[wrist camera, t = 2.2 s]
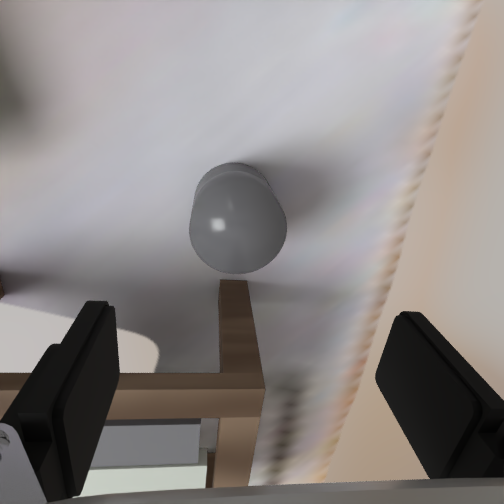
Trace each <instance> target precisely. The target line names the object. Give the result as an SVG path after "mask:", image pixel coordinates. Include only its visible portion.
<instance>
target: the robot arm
mask: <svg viewBox="0 0 504 504" xmlns="http://www.w3.org/2000/svg"><path fill="white" fill-rule="evenodd" d="M119 375H120V369H119V356H118V343H117V330H116V317H115V308H114V306H109V304H108V302H107V301H87V302H86V303H85V305H84V306H83V308H82V309H81V311H80V313H79V314H78V316H77V318H76V319H75V321H74V323H73V324H72V326H71V327H70V329H69V331H68V332H67V334H66V335H65V337H64V339H63V340H62V342H61V344H52V345H50V346H49V347H48V349H47V350H46V351H45V353H44V355H43V356H42V358H41V359H40V361H39V362H38V364H37V365H36V367H35V368H34V370H33V371H32V373H31V374H30V376H29V377H28V379H27V380H26V382H25V384H24V385H23V387H22V388H21V390H20V391H19V393H18V394H17V396H16V397H15V399H14V400H13V402H12V403H11V405H10V406H9V408H8V409H7V411H6V412H5V414H4V416H3V417H2V419H1V420H0V504H504V400H503V399H501V397H500V396H499V395H498V394H497V393H496V392H495V391H494V390H493V389H492V388H491V387H490V386H489V384H488V383H487V382H486V381H485V380H484V379H483V378H482V377H481V376H480V375H479V374H478V373H477V372H476V371H475V370H474V368H473V367H471V365H470V364H469V363H468V362H467V361H466V360H465V359H464V358H463V357H462V356H461V355H460V354H459V352H458V351H456V349H455V348H454V347H453V346H452V345H451V344H450V343H449V342H448V341H447V340H446V339H445V338H444V337H443V335H442V334H441V333H440V332H439V331H438V330H437V329H436V328H435V327H434V326H433V325H432V324H431V323H430V322H429V321H428V319H427V318H426V317H425V316H424V315H423V314H422V313H420V312H411V311H410V312H409V311H403V312H401V313H400V314H399V315H398V316H396V317H395V319H394V322H393V324H392V327H391V330H390V334H389V336H388V339H387V342H386V345H385V348H384V350H383V353H382V356H381V359H380V362H379V365H378V368H377V371H376V375H375V379H376V383H377V385H378V387H379V389H380V391H381V392H382V394H383V396H384V398H385V400H386V401H387V403H388V405H389V407H390V408H391V410H392V412H393V414H394V416H395V417H396V419H397V421H398V423H399V425H400V427H401V428H402V430H403V432H404V434H405V435H406V437H407V439H408V441H409V443H410V444H411V446H412V448H413V450H414V451H415V453H416V455H417V457H418V459H419V460H420V463H421V464H422V466H423V468H424V469H425V471H426V473H427V475H428V477H429V478H430V479H422V480H421V479H420V480H392V481H391V480H390V481H365V482H364V481H363V482H336V483H311V484H286V485H263V486H241V487H219V488H197V489H175V490H160V491H144V492H128V493H113V494H102V495H94V496H85V497H78V496H80V494H81V492H82V490H83V487H84V484H85V481H86V478H87V475H88V472H89V469H90V466H91V463H92V460H93V457H94V454H95V451H96V448H97V445H98V442H99V439H100V436H101V433H102V430H103V427H104V424H105V421H106V418H107V415H108V412H109V409H110V406H111V403H112V400H113V397H114V394H115V391H116V388H117V385H118V382H119ZM73 497H76V498H73Z"/></svg>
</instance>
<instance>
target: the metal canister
mask: <svg viewBox="0 0 504 504" xmlns="http://www.w3.org/2000/svg"><path fill="white" fill-rule="evenodd" d="M286 232H287V223H286V217H285V214H284V212H283V210H282V208H281V206H280V204H279V202H278V200H277V198H276V196H275V195H274V193H273V191H272V189H271V187H270V186H269V184H268V182H267V180H266V179H265V177H264V176H263V175H262V174H261V173H260V172H258V171H257V170H256V169H254V168H253V167H250V166H248V165H245V164H241V163H226V164H222V165H219V166H217V167H215V168H213V169H211V170H210V171H209V172H207V173H206V174H205V175H204V176H203V178H202V179H201V180H200V182H199V184H198V186H197V188H196V191H195V196H194V202H193V208H192V213H191V219H190V227H189V234H190V240H191V243H192V246H193V248H194V250H195V252H196V253H197V255H198V256H199V257H200V258H201V259H202V261H204V262H205V263H206V264H207V265H209V266H210V267H212V268H214V269H216V270H218V271H221V272H225V273H230V274H243V273H249V272H253V271H256V270H258V269H260V268H262V267H264V266H265V265H267V264H268V263H270V262H271V261H272V260H273V259H274V258H275V257H276V256H277V254H278V253H279V252H280V250H281V248H282V246H283V244H284V241H285V238H286Z"/></svg>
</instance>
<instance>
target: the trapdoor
mask: <svg viewBox="0 0 504 504" xmlns="http://www.w3.org/2000/svg"><path fill="white" fill-rule="evenodd" d="M200 423H201V418H179V419H120V420H106V421H105V424H104V427H103V430H102V433H101V436H100V439H99V442H98V445H97V448H96V451H95V454H94V457H93V460H92V463H91V466H90V469H89V472H88V475H87V478H86V481H85V484H84V487H83V490H82V492H81V494H80V496H78V497H85V496H94V495H102V494H113V493H128V492H144V491H160V490H175V489H197V488H205V484H206V472H207V448H199V439H200ZM73 498H76V497H73Z"/></svg>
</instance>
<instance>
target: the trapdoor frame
mask: <svg viewBox="0 0 504 504" xmlns="http://www.w3.org/2000/svg"><path fill="white" fill-rule="evenodd" d="M3 296H4V291H3V287H2V284H1V280H0V299H1V298H2V297H3ZM218 309H219V352H220V373H120V375H119V382H118V385H117V388H116V391H115V394H114V397H113V400H112V403H111V406H110V409H109V412H108V415H107V418H106V420H120V419H179V418H219V423H218V433H217V443H216V453H207V472H206V484H205V488H219V487H241V486H248V483H249V478H250V472H251V467H252V461H253V455H254V450H255V444H256V439H257V433H258V427H259V422H260V416H261V410H262V405H263V399H264V394H265V384H264V378H263V373H262V367H261V361H260V355H259V349H258V343H257V337H256V331H255V326H254V320H253V314H252V308H251V302H250V296H249V290H248V284H247V281H241V280H220V287H219V300H218ZM30 374H31V373H0V420H1V419H2V417H3V416H4V414H5V412H6V411H7V409H8V408H9V406H10V405H11V403H12V402H13V400H14V399H15V397H16V396H17V394H18V393H19V391H20V390H21V388H22V387H23V385H24V384H25V382H26V380H27V379H28V377H29V376H30Z"/></svg>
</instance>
